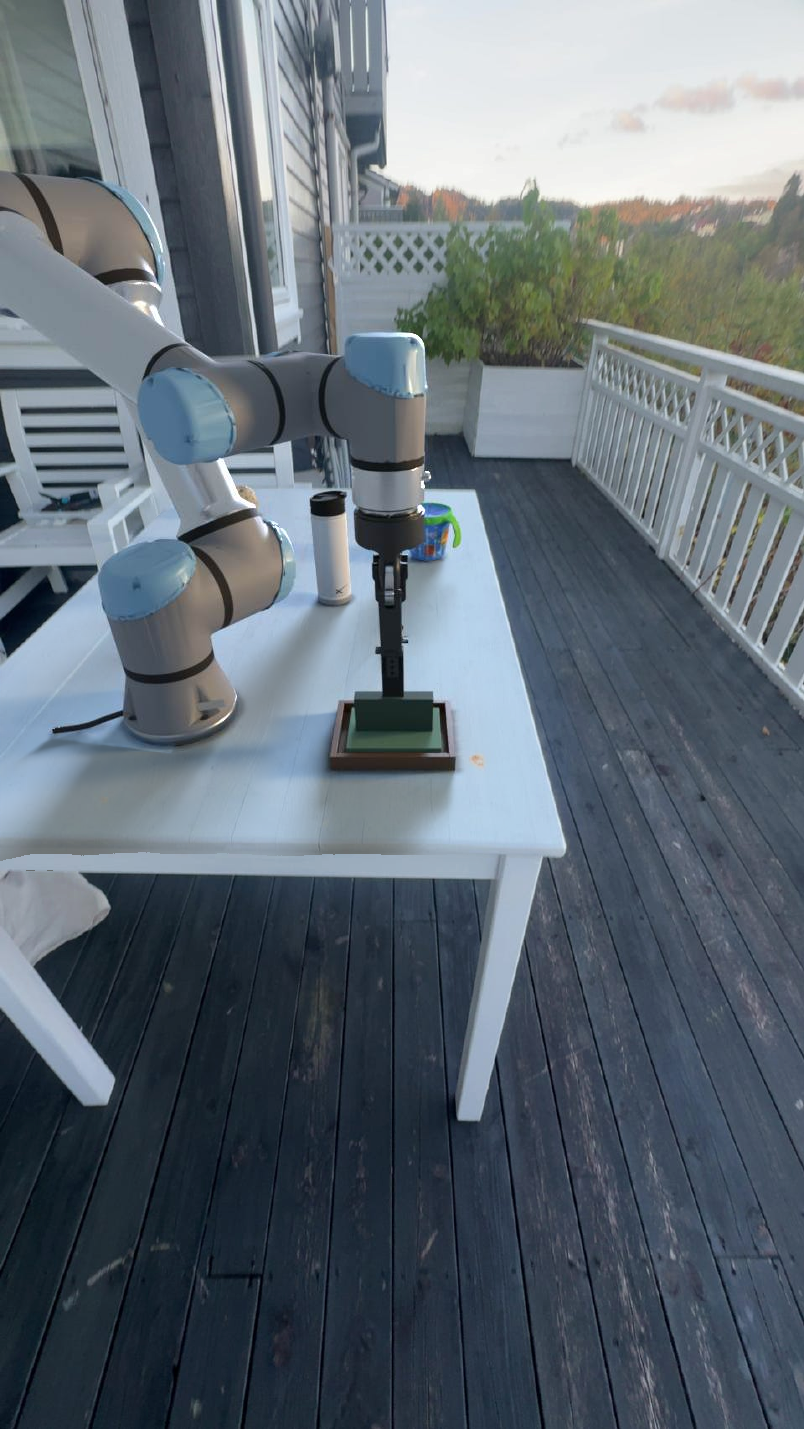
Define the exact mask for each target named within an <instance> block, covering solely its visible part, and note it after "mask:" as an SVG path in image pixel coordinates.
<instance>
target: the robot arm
mask: <svg viewBox="0 0 804 1429" xmlns="http://www.w3.org/2000/svg"><path fill="white" fill-rule="evenodd" d="M163 252H164V251H163V246H162V242H161V239H160V236H159V232H158V231H157V228H156V226H155V224H154V222H153V220H152V218H151V215H149V213H148V212H147V210H146V208H145V207H144V206H143V204H142V203H141V202H140V201H139V200H138V198H136V197H135V195H134V194H132V193H131V192H130V191H129V190H128V189H126V188H125V187H123V186H120V185H118V184H116V183H114V182H108V181H104V180H103V181H102V180H100V179H96V178H95V177H91V176H81V177H80V176H78V177H76V178H73V177H64V176H56V175H55V176H53V175H44V174H34V173H24V172H13V171H8V170H0V315H3V316H6V317H9V318H12V319H21V320H23V321H24V322H25V323H26V324H28V325H29V326H30V327H32V328H33V329H34V330H36V331H37V332H38V333H40V334H41V335H43V336H44V338H46V339H48V340H49V341H50V342H52V343H53V344H54V345H56V346H57V347H58V348H60V350H62V351H64V352H65V353H66V354H67V355H69V356H70V357H71V358H73V359H74V360H76V361H77V362H78V363H79V364H80V365H82V366H83V367H85V368H86V369H87V370H88V371H90V372H91V373H93V375H95V376H96V377H98V378H99V379H100V380H102V382H105V383H106V384H107V385H109V386H110V387H111V388H112V389H114V390H115V391H116V392H117V393H119V394H120V396H121V398H122V400H123V402H124V405H125V406H126V407H125V408H126V409H127V411H128V413H129V415H130V417H131V420H132V421H133V423H134V426H135V428H136V430H137V432H138V434H139V436H140V439H141V441H142V442H143V444H144V446H145V449H146V450H147V453H148V455H149V457H150V459H151V461H152V463H153V465H154V467H155V469H156V472H157V473H158V475H159V478H160V480H161V482H162V484H163V486H164V488H165V490H166V492H167V495H168V496H169V499H170V500H171V503H172V505H173V507H174V509H175V511H176V513H177V515H178V517H179V520H180V524H179V528H178V530H177V533H176V536H175V537H176V539H174V538H158V539H155V540H152V541H150V542H149V541H143V542H139V543H135V544H133V545H130V546H127V547H126V548H123V549H121V550H120V551H118V552H116V553H114V554H113V555H112V556H110V557H109V558H108V559H107V560H106V561H105V562H104V563H103V565H102V566H101V568H100V571H99V572H98V575H97V585H98V589H99V594H100V599H101V607H102V610H103V613H104V614H105V616H106V620H107V622H108V625H109V629H110V632H111V635H112V637H113V640H114V644H115V647H116V650H117V653H118V656H119V660H120V663H121V666H122V669H123V671H124V672H123V673H124V676H125V681H124V694H123V704H122V705H123V707H122V709H121V710H118V711H115V712H112V713H109V714H106V715H103V716H101V717H98V718H96V719H93V720H90V721H88V722H87V721H86V722H82V723H78V724H71V725H64V726H56V727H54V728H55V729H51V732H52V734H53V735H55V734H62V733H64V734H65V733H71V732H72V733H73V732H77V731H84V730H88V729H90V728H95V727H97V726H99V725H101V724H105V723H107V722H109V721H113V720H115V719H119V718H121V717H123V721H124V724H125V727H126V730H127V732H128V734H130V736H131V737H133V738H134V739H136V740H137V741H140V742H142V743H145V744H148V745H153V746H161V747H162V746H163V747H166V746H167V747H168V746H169V747H171V746H179V745H180V746H181V745H186V744H190V743H195V742H197V741H201V740H203V739H206V738H208V737H211V736H213V735H215V734H217V733H218V732H220V731H222V730H223V729H224V728H225V727H227V726H228V725H229V724H230V723H231V722H232V721H233V719H234V718H235V717H236V714H237V712H238V709H239V702H238V701H239V700H238V697H237V692H236V689H235V688H234V686H233V684H232V682H231V681H230V679H229V677H228V676H227V675H226V673H225V671H224V670H223V668H222V667H221V665H220V663H219V662H218V660H217V658H216V656H215V652H214V647H213V646H214V645H213V641H212V635H213V634H215V633H217V632H219V631H221V630H223V629H225V628H228V627H230V626H232V625H234V624H236V623H238V622H242V621H243V620H245V619H248V618H249V617H251V616H253V615H256V614H258V613H260V612H265V611H266V610H269V609H271V608H273V607H274V605H276V604H278V603H280V602H281V601H283V600H284V599H286V598H287V597H288V596H289V595H290V593H291V592H292V590H293V588H294V585H295V580H296V577H297V571H298V570H297V566H298V565H297V558H296V553H295V550H294V547H293V544H292V542H291V539H290V537H289V536H288V534H287V532H286V531H285V530H284V529H283V528H282V527H279V524H278V523H276V522H275V521H273V520H270V519H266V518H262V517H261V515H260V511H259V512H258V510H257V508H256V505H254V504H252V503H250V502H248V501H246V500H244V499H242V498H241V497H240V496H239V494H238V492H237V490H236V487H237V486H236V485H235V483H234V481H233V478H232V476H231V474H230V472H229V469H228V468H227V467H228V466H227V465H226V463H225V461H224V459H225V458H228V457H233V456H236V455H239V454H240V455H241V454H243V453H247V452H251V451H255V450H258V449H262V448H266V447H271V446H275V445H280V444H283V443H288V442H292V441H296V440H299V439H303V438H307V437H317V436H318V437H326V438H332V439H338V440H344V441H349V454H350V463H349V465H350V466H349V467H350V484H351V485H350V486H351V499H352V504H353V505H354V506H356V507H355V508H354V510H353V528H354V529H353V530H354V540H355V542H356V544H357V545H358V546H359V547H360V548H362V549H364V550H367V551H373V552H375V553H373V554H372V563H371V578H372V580H373V581H374V599H375V601H376V603H377V606H378V621H379V622H378V626H379V639H380V640H379V643H380V646H375V649H374V650H375V651H374V654H375V655H380V663H381V664H380V665H381V666H380V669H381V670H380V671H381V691H382V697H404V691H405V667H404V666H405V664H404V663H405V662H404V661H405V660H404V657H405V656H404V654H405V652H404V645H403V644H409V635H403V631H404V624H403V603H404V602H405V601H406V599H407V580H408V579H409V554H408V553H404V552H405V551H410V550H411V549H414V548H416V547H418V546H419V545H420V544H421V543H422V542H423V540H424V531H425V510H424V508H423V507H422V506H421V504H422V503H424V502H425V484H424V483H428V482H430V481H431V480H432V475H431V473H430V472H429V471H425V462H426V458H425V457H426V455H425V454H426V453H425V430H426V414H427V413H426V411H427V410H426V408H427V394H428V390H429V389H428V382H427V376H426V375H427V374H426V373H427V372H426V351H425V350H426V349H425V344H424V342H423V340H422V338H420V337H419V336H418V335H417V334H414V333H410V332H398V331H396V332H395V331H394V332H385V331H381V332H380V331H378V332H374V331H373V332H360V333H354V334H350V335H349V336H348V337H347V338H346V339H345V342H344V355H334V354H325V353H314V352H304V351H303V350H296V349H293V350H282V351H273V352H269V353H267V354H266V355H265V356H264V357H263V358H257V359H247V360H240V361H231V362H223V363H222V362H218V361H215V360H214V359H212V358H211V357H209V356H208V355H206V354H204V353H203V352H201V351H200V350H199V349H197V348H195V347H194V346H192V345H191V344H190V343H189V342H187V341H185V340H184V339H183V338H181V337H180V336H178V335H177V334H175V332H172V331H171V330H170V329H168V328H167V327H166V326H164V323H163V322H162V319H161V317H160V315H159V309H160V306H161V303H162V300H163V292H162V290H161V287H162V285H163V283H164V278H165V271H166V270H165V265H166V264H165V262H164V260H163V259H162V257H161V255H163V254H164V253H163ZM376 553H377V554H376ZM58 727H60V728H58Z"/></svg>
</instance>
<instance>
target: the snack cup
mask: <svg viewBox="0 0 804 1429" xmlns="http://www.w3.org/2000/svg"><path fill="white" fill-rule="evenodd" d="M421 506H422V507H423V508H424V510H425V531H424V540H423V542H422V543H421V544H420V545H419V546H418V547H416V548H414V549H411V550H409V553H410V555H411V558H413V559H415V560H418V561H425V562H430V561H431V562H432V561H437V560H439V559H443V557H444V556H445V554H446V549H447V543H448V538H449V531H450V526H452V529H453V534H454V538H453V542H452V548H453V549H456V548H458V547H459V546H460V544H461V542H462V532H461V527H460V524H459V521H458V519H457V518H456V516H454V514H453V513H454V512H453V511H454V510H453V508H452V506H450V505H447V504H445V503H439V502H423V503H422V504H421Z"/></svg>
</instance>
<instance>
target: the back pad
mask: <svg viewBox="0 0 804 1429" xmlns="http://www.w3.org/2000/svg"><path fill="white" fill-rule="evenodd" d="M353 700H354V708H352V709H351V716H350V724H349V731H348V738H347V745H346V753H441V733H440V717H439V708H433V700H434V691H432V690H421V691H420V690H404V697H382V690H380V691H379V690H355V691H354V697H353Z"/></svg>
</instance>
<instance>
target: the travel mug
mask: <svg viewBox="0 0 804 1429" xmlns="http://www.w3.org/2000/svg"><path fill="white" fill-rule="evenodd" d="M347 497H348V493H347V491H344V490H327V491H321V492H318V493H315V494H314V495H312V497H310V498H309V507H310V508H309V510H310V512H309V513H310V524H311V525H310V526H311V535H312V546H313V555H314V565H315V566H314V567H315V576H316V577H315V578H316V588H317V597H318V601H319V602H320V603H321V604H323V605H325V606H341V605H345V604H347V603H348V602H350V601H351V600H352V586H351V585H352V584H351V574H350V573H351V571H350V570H351V569H350V554H349V553H350V552H349V540H348V538H349V537H348V524H347V521H348V520H347V509H346V498H347Z"/></svg>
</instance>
